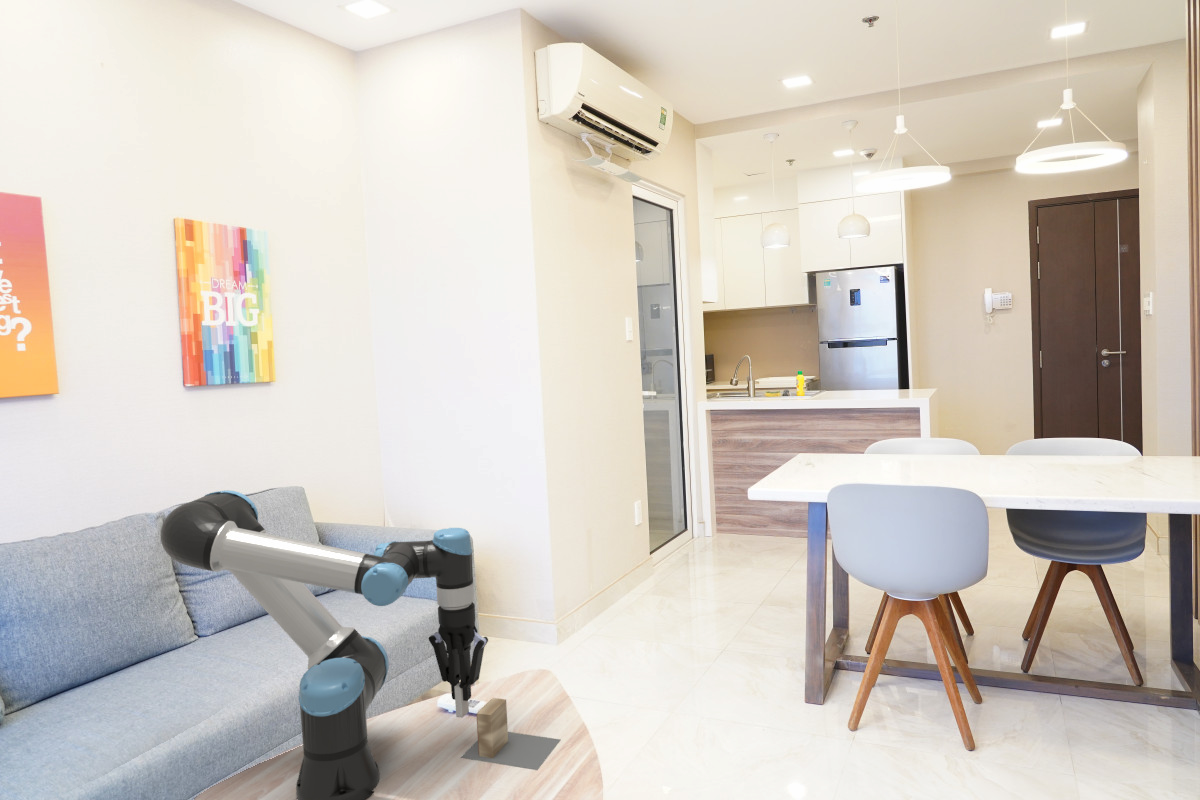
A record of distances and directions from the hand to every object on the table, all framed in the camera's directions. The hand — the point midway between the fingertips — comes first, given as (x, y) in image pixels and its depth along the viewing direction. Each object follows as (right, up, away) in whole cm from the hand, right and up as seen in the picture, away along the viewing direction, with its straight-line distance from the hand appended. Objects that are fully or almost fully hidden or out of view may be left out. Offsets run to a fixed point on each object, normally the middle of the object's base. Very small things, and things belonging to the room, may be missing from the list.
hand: (462, 714), depth 161 cm
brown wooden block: (+7, -6, -2) cm, 9 cm away
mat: (+10, -7, -2) cm, 13 cm away
